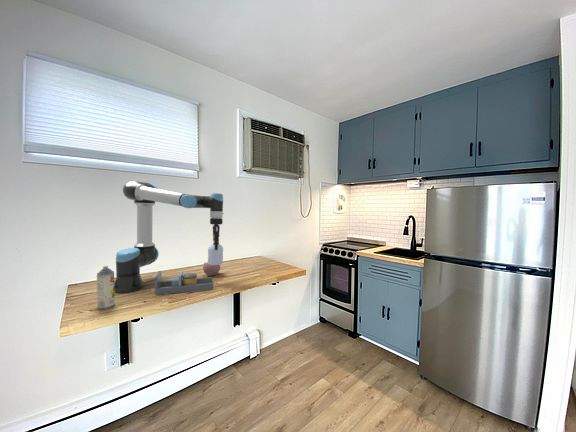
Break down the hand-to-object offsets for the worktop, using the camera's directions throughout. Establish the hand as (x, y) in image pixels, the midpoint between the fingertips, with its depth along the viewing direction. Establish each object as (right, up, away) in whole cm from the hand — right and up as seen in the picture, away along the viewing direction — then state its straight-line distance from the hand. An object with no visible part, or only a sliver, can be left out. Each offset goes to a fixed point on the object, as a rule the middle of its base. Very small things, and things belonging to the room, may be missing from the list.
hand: (215, 253), depth 147 cm
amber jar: (-14, -21, -5) cm, 25 cm away
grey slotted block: (-16, -20, -5) cm, 26 cm away
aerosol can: (-44, -21, -32) cm, 59 cm away
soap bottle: (0, -7, 0) cm, 7 cm away
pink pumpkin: (-9, -20, +21) cm, 30 cm away
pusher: (-21, -20, -7) cm, 30 cm away
